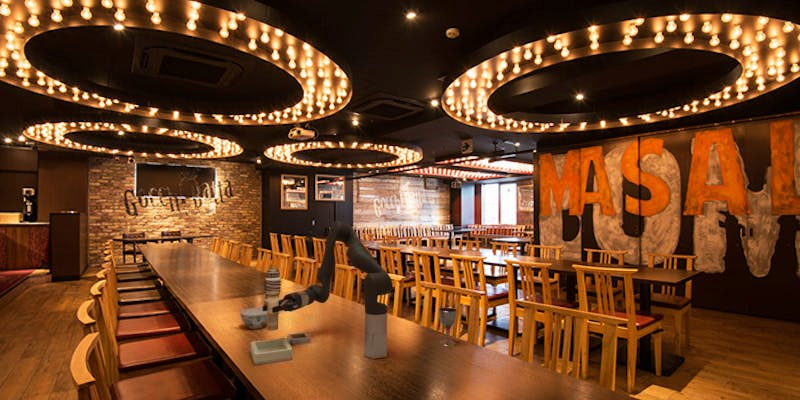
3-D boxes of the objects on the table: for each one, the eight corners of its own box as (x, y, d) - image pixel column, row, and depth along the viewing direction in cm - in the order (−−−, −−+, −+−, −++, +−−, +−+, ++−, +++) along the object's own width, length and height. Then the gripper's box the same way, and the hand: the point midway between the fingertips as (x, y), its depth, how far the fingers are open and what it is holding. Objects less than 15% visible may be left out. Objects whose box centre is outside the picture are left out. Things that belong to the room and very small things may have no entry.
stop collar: (311, 342, 176) (311, 337, 177) (290, 345, 172) (290, 340, 172) (306, 336, 185) (306, 332, 185) (286, 338, 181) (286, 334, 181)
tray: (292, 359, 156) (292, 349, 156) (254, 365, 150) (254, 354, 150) (285, 346, 170) (285, 337, 170) (250, 351, 164) (250, 341, 164)
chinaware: (234, 326, 199) (234, 311, 199) (262, 320, 210) (262, 306, 210) (248, 333, 188) (249, 316, 189) (277, 326, 199) (277, 311, 200)
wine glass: (459, 343, 178) (460, 309, 179) (449, 347, 172) (449, 312, 173) (445, 339, 184) (445, 306, 184) (435, 343, 178) (435, 309, 178)
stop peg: (279, 329, 160) (280, 292, 160) (266, 331, 158) (267, 293, 158) (277, 326, 164) (278, 290, 165) (265, 328, 162) (266, 291, 163)
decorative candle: (260, 315, 221) (261, 270, 221) (268, 311, 230) (269, 267, 230) (275, 316, 219) (276, 270, 220) (283, 312, 228) (284, 268, 229)
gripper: (283, 290, 177) (254, 298, 162) (309, 293, 171) (282, 301, 156) (282, 307, 177) (254, 316, 161) (308, 311, 171) (281, 321, 156)
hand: (268, 309), depth 159 cm, fingers closed on stop peg, 4 cm apart
